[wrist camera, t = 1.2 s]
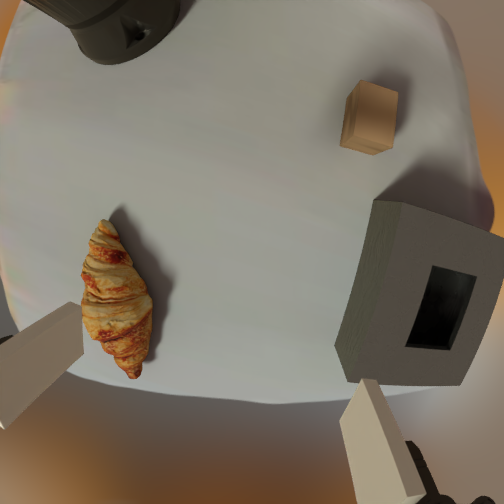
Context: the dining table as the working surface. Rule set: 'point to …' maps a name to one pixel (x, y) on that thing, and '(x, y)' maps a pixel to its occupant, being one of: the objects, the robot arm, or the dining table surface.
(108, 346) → the croissant
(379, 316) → the box
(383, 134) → the brown block
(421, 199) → the dining table surface
